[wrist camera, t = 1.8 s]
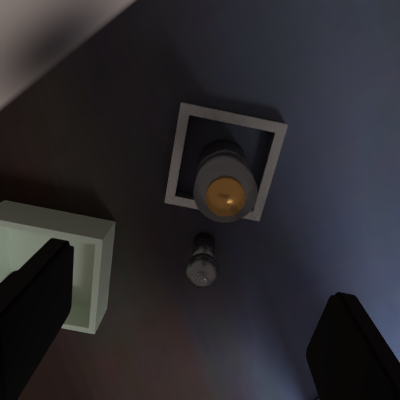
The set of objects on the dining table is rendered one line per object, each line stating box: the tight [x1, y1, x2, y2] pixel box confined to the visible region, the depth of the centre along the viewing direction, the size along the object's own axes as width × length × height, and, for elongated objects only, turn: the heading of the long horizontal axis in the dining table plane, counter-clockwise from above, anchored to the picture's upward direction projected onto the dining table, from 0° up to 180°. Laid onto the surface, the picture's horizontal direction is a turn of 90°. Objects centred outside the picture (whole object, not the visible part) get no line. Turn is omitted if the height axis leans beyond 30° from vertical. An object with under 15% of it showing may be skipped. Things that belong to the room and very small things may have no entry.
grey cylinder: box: [193, 139, 257, 223], centre depth 22 cm, size 4×4×9 cm
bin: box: [0, 200, 116, 334], centre depth 29 cm, size 11×11×4 cm
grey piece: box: [164, 102, 288, 288], centre depth 24 cm, size 9×14×6 cm, turn 169°
